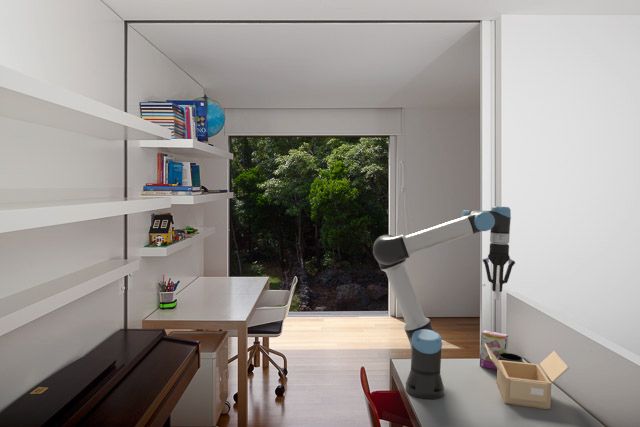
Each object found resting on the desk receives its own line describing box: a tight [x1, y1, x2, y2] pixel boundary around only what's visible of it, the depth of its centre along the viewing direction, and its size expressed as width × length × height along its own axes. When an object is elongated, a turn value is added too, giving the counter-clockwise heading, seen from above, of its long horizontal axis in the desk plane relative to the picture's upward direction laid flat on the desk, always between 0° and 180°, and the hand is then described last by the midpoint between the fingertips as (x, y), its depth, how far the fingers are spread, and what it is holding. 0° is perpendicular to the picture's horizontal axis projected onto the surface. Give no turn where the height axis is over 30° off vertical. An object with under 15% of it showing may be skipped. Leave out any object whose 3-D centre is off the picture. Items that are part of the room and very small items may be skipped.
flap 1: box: [485, 343, 505, 376], centre depth 182 cm, size 8×19×1 cm
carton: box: [496, 360, 553, 410], centre depth 180 cm, size 16×22×10 cm
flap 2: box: [539, 350, 570, 383], centre depth 177 cm, size 8×19×1 cm
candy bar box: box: [479, 329, 509, 371], centre depth 209 cm, size 11×5×16 cm, turn 58°
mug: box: [499, 352, 525, 363], centre depth 199 cm, size 9×12×9 cm
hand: (496, 299), depth 189 cm, fingers closed
